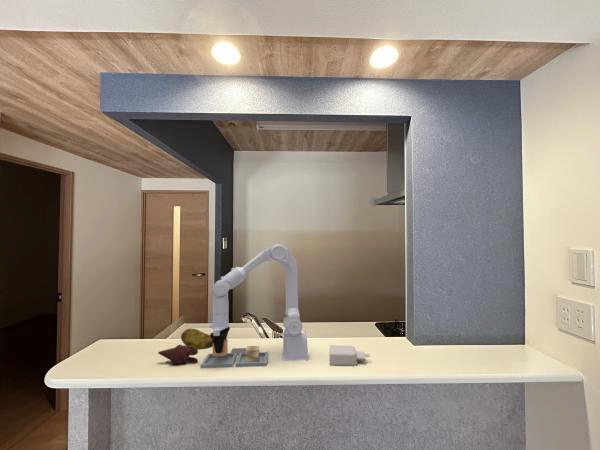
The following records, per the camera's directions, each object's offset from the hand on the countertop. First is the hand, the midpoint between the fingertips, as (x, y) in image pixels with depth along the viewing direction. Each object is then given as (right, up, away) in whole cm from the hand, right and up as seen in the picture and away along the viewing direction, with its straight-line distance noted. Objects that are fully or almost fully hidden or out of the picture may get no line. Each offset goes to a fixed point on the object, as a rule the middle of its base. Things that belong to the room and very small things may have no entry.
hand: (220, 350), depth 106 cm
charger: (+48, -5, 0) cm, 48 cm away
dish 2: (+12, -4, 0) cm, 13 cm away
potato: (-14, -6, +16) cm, 22 cm away
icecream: (-15, -5, -1) cm, 16 cm away
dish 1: (0, -4, 0) cm, 4 cm away
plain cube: (+12, -4, 0) cm, 13 cm away
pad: (+5, -5, +10) cm, 12 cm away
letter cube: (0, -1, 0) cm, 1 cm away
